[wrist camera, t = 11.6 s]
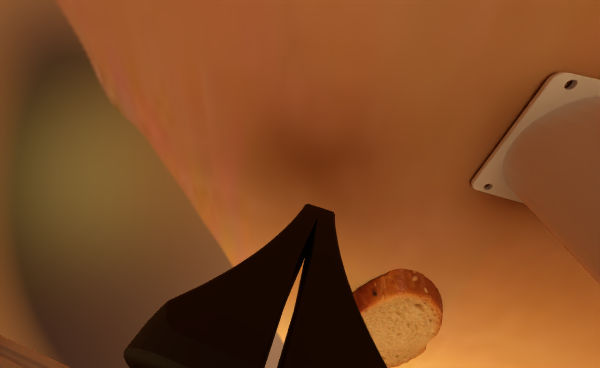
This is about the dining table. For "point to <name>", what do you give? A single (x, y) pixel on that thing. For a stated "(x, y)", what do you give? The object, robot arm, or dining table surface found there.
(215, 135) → the dining table surface
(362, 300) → the slice of bread
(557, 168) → the robot arm
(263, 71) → the dining table surface
